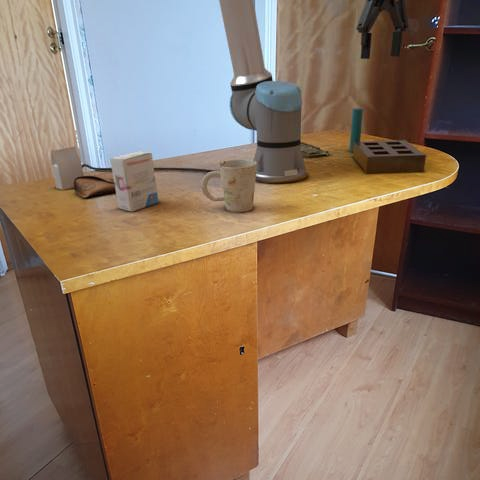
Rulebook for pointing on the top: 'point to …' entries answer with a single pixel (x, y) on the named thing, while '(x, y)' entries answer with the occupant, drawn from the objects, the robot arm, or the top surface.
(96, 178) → the sunglasses case
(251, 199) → the mug
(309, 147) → the keyboard
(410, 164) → the peg board
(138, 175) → the ink box
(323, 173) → the top surface
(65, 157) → the grey box
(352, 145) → the peg
